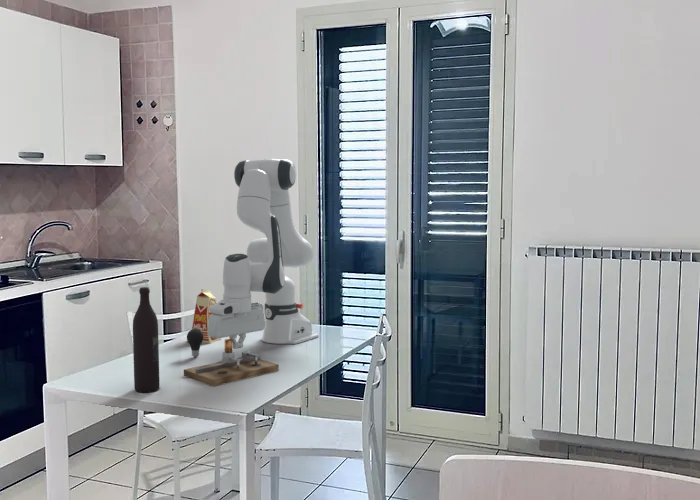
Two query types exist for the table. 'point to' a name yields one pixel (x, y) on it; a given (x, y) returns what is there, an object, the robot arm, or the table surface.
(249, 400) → the table surface
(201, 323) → the milk carton
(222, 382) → the brown wooden board
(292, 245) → the robot arm
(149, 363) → the wine bottle
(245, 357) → the bar
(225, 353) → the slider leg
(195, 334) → the black light bulb
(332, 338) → the table surface
